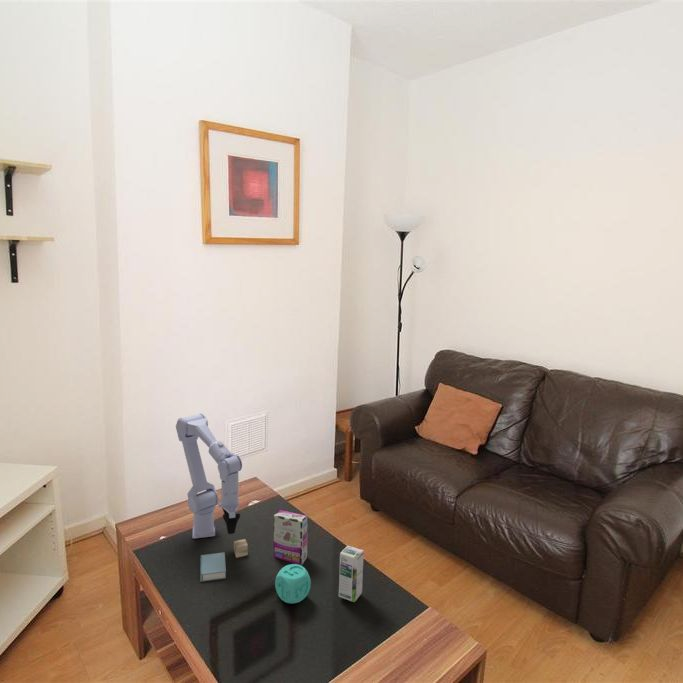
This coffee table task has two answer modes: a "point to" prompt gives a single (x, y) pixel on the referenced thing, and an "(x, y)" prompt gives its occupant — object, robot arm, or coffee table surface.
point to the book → (212, 567)
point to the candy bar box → (290, 536)
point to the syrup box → (351, 573)
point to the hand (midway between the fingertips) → (230, 527)
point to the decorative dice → (292, 583)
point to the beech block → (240, 548)
